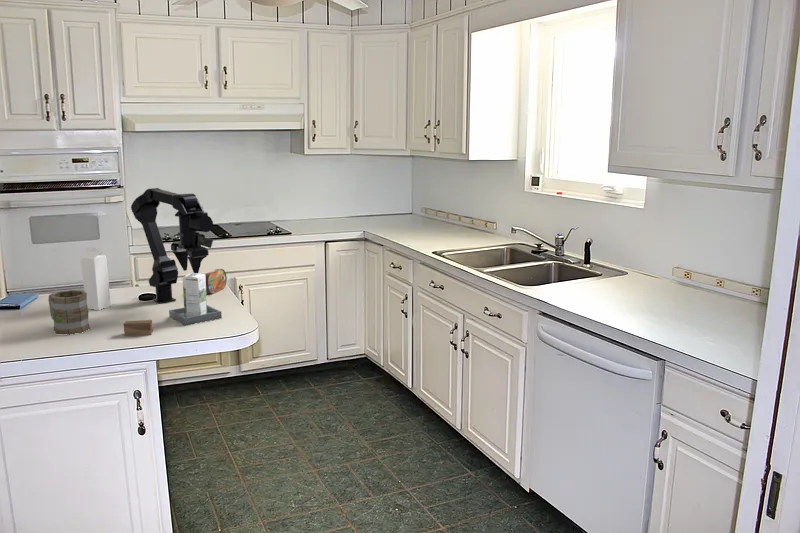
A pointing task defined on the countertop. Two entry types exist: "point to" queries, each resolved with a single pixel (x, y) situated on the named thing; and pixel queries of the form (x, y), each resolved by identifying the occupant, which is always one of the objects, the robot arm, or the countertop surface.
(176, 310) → the tray
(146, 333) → the block
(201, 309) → the syrup box
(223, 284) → the tin
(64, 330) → the mug
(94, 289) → the milk
